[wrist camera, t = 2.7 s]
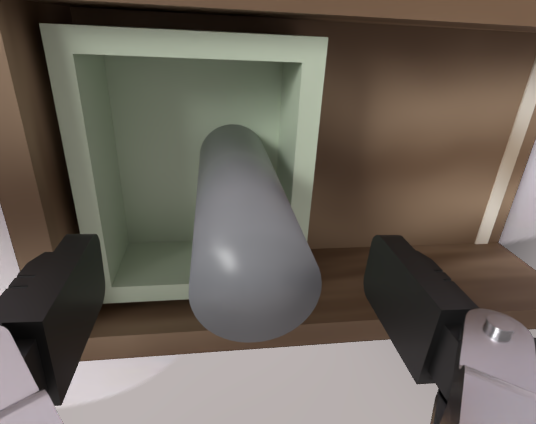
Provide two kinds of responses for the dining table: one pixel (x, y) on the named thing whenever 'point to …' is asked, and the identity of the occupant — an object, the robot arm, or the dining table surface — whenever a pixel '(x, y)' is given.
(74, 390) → the dining table surface
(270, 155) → the box
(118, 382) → the dining table surface
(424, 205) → the bay
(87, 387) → the dining table surface
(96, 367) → the dining table surface
